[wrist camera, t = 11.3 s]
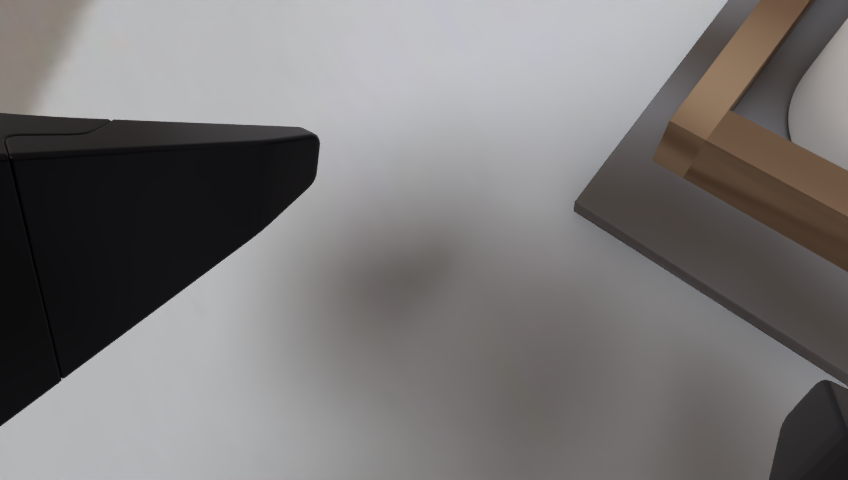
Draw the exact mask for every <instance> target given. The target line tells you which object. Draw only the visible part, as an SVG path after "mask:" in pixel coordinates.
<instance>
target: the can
mask: <svg viewBox="0 0 848 480" xmlns="http://www.w3.org/2000/svg"><path fill="white" fill-rule="evenodd" d="M788 126H789V133H790V137H791V141H792V142H793V143H795V144H797V145H799V146H801V147H803V148H805V149H807V150H809V151H811V152H813V153H814V154H816V155H818V156H820V157H822V158H824V159H826V160H828V161H830V162H832V163H834V164H836V165H838V166H840V167H842V168H844V169H846V170H848V18H847V20H846V21H845V22H844V24H843V25H842V26H841V27H840V29H839V30H838V31H837V33H836V34H835V35H834V36H833V38H832V39H831V40H830V42H829V43H828V44H827V45H826V47H825V48H824V49H823V51H822V52H821V53H820V55H819V56H818V57H817V58H816V60H815V61H814V62H813V64H812V65H811V66H810V68H809V69H808V70H807V72H806V73H805V74H804V76H803V77H802V79H801V80H800V82H799V84H798V85H797V87H796V89H795V91H794V93H793V96H792V99H791V102H790V107H789V113H788Z"/></svg>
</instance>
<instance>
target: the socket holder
mask: <svg viewBox="0 0 848 480" xmlns="http://www.w3.org/2000/svg"><path fill="white" fill-rule="evenodd" d="M847 18H848V0H728V2H727V3H726V4H725V6H724V7H723V8H722V9H721V11H720V12H719V13H718V15H717V16H716V17H715V19H714V20H713V21H712V23H711V24H710V25H709V27H708V28H707V29H706V30H705V32H704V33H703V34H702V36H701V37H700V38H699V40H698V41H697V42H696V44H695V45H694V46H693V47H692V49H691V50H690V51H689V53H688V54H687V55H686V57H685V58H684V59H683V61H682V62H681V63H680V65H679V66H678V67H677V68H676V70H675V71H674V72H673V74H672V75H671V76H670V78H669V79H668V80H667V82H666V83H665V84H664V86H663V87H662V88H661V89H660V91H659V92H658V93H657V95H656V96H655V97H654V99H653V100H652V101H651V103H650V104H649V105H648V107H647V108H646V109H645V110H644V112H643V113H642V114H641V116H640V117H639V118H638V120H637V121H636V122H635V124H634V125H633V126H632V128H631V129H630V130H629V131H628V133H627V134H626V135H625V137H624V138H623V139H622V141H621V142H620V143H619V145H618V146H617V147H616V148H615V150H614V151H613V152H612V154H611V155H610V156H609V158H608V159H607V160H606V162H605V163H604V164H603V166H602V167H601V168H600V169H599V171H598V172H597V173H596V175H595V176H594V177H593V179H592V180H591V181H590V183H589V184H588V185H587V187H586V188H585V189H584V190H583V192H582V193H581V194H580V196H579V197H578V198H577V200H576V201H575V205H574V211H575V212H577V213H578V214H580V215H581V216H583V217H584V218H586V219H588V220H589V221H591V222H592V223H594V224H595V225H597V226H599V227H600V228H602V229H603V230H605V231H606V232H608V233H609V234H611V235H613V236H614V237H616V238H617V239H619V240H620V241H622V242H624V243H625V244H627V245H628V246H630V247H631V248H633V249H635V250H636V251H638V252H639V253H641V254H642V255H644V256H645V257H647V258H649V259H650V260H652V261H653V262H655V263H656V264H658V265H660V266H661V267H663V268H664V269H666V270H667V271H669V272H671V273H672V274H674V275H675V276H677V277H678V278H680V279H681V280H683V281H685V282H686V283H688V284H689V285H691V286H692V287H694V288H696V289H697V290H699V291H700V292H702V293H703V294H705V295H707V296H708V297H710V298H711V299H713V300H714V301H716V302H717V303H719V304H721V305H722V306H724V307H725V308H727V309H728V310H730V311H732V312H733V313H735V314H736V315H738V316H739V317H741V318H743V319H744V320H746V321H747V322H749V323H750V324H752V325H753V326H755V327H757V328H758V329H760V330H761V331H763V332H764V333H766V334H768V335H769V336H771V337H772V338H774V339H775V340H777V341H779V342H780V343H782V344H783V345H785V346H786V347H788V348H789V349H791V350H793V351H794V352H796V353H797V354H799V355H800V356H802V357H804V358H805V359H807V360H808V361H810V362H811V363H813V364H815V365H816V366H818V367H819V368H821V369H822V370H824V371H825V372H827V373H829V374H830V375H832V376H833V377H835V378H836V379H838V380H840V381H841V382H843V383H844V384H846V385H847V386H848V170H846V169H844V168H842V167H840V166H838V165H836V164H834V163H832V162H830V161H828V160H826V159H824V158H822V157H820V156H818V155H816V154H814V153H813V152H811V151H809V150H807V149H805V148H803V147H801V146H799V145H797V144H795V143H793V142H792V141H791V137H790V133H789V126H788V113H789V107H790V102H791V99H792V96H793V93H794V91H795V89H796V87H797V85H798V84H799V82H800V80H801V79H802V77H803V76H804V74H805V73H806V72H807V70H808V69H809V68H810V66H811V65H812V64H813V62H814V61H815V60H816V58H817V57H818V56H819V55H820V53H821V52H822V51H823V49H824V48H825V47H826V45H827V44H828V43H829V42H830V40H831V39H832V38H833V36H834V35H835V34H836V33H837V31H838V30H839V29H840V27H841V26H842V25H843V24H844V22H845V21H846V20H847Z"/></svg>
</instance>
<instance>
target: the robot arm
mask: <svg viewBox="0 0 848 480" xmlns="http://www.w3.org/2000/svg"><path fill="white" fill-rule="evenodd" d="M319 148H320V141H319V138H318V136H317V135H316V134H314V133H312V132H310V131H308V130H306V129H304V128H301V127H285V126H260V125H235V124H210V123H185V122H160V121H135V120H112V121H110V120H108V119H87V118H67V117H49V116H34V115H20V114H6V113H0V426H1V425H3V424H4V423H5V422H7V421H8V420H9V419H11V418H12V417H14V416H15V415H16V414H18V413H19V412H20V411H22V410H23V409H24V408H26V407H27V406H28V405H30V404H31V403H32V402H34V401H35V400H36V399H38V398H39V397H40V396H42V395H43V394H44V393H46V392H47V391H48V390H50V389H51V388H52V387H54V386H55V385H56V384H58V383H59V382H60V381H61V378H65V377H67V376H68V375H69V374H71V373H72V372H73V371H75V370H76V369H77V368H79V367H80V366H81V365H83V364H84V363H85V362H87V361H88V360H89V359H91V358H92V357H93V356H95V355H96V354H97V353H99V352H100V351H102V350H103V349H104V348H106V347H107V346H108V345H110V344H111V343H112V342H114V341H115V340H116V339H118V338H119V337H120V336H122V335H123V334H124V333H126V332H127V331H128V330H130V329H131V328H132V327H134V326H135V325H136V324H138V323H139V322H140V321H142V320H143V319H144V318H146V317H147V316H149V315H150V314H151V313H153V312H154V311H155V310H157V309H158V308H159V307H161V306H162V305H163V304H165V303H166V302H167V301H169V300H170V299H171V298H173V297H174V296H175V295H177V294H178V293H179V292H181V291H182V290H183V289H185V288H186V287H187V286H189V285H190V284H192V283H193V282H194V281H196V280H197V279H198V278H200V277H201V276H202V275H204V274H205V273H206V272H208V271H209V270H210V269H212V268H213V267H214V266H216V265H217V264H218V263H220V262H221V261H222V260H224V259H225V258H226V257H228V256H229V255H230V254H232V253H233V252H234V251H236V250H237V249H239V248H240V247H241V246H243V245H244V244H245V243H247V242H248V241H249V240H251V239H252V238H253V237H255V236H256V235H257V234H258V233H260V232H261V231H262V230H263V229H264V228H265V227H267V226H268V225H269V224H270V223H271V222H272V221H273V220H274V219H275V218H276V217H278V216H279V215H280V214H281V213H282V212H283V211H284V210H285V209H286V208H287V207H288V206H289V205H290V204H292V203H293V202H294V201H295V200H296V199H297V198H298V197H299V196H300V195H301V194H302V193H303V192H305V191H306V190H307V189H308V188H309V187H310V186H311V185H312V183H313V182H314V180H315V177H316V174H317V165H318V157H319ZM769 480H848V389H846V388H844V387H842V386H840V385H838V384H836V383H834V382H832V381H829V380H823V381H820V382H819V383H817V384H816V385H815V386H814V387H813V388H812V389H811V390H810V391H809V392H808V393H807V394H806V395H805V397H804V398H803V399H802V400H801V401H800V402H799V403H798V404H797V405H796V406H795V408H794V409H793V410H792V411H791V412H790V413H789V414H788V416H787V417H786V418H785V420H784V422H783V424H782V427H781V430H780V434H779V438H778V443H777V447H776V451H775V456H774V460H773V464H772V469H771V473H770V478H769Z"/></svg>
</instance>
